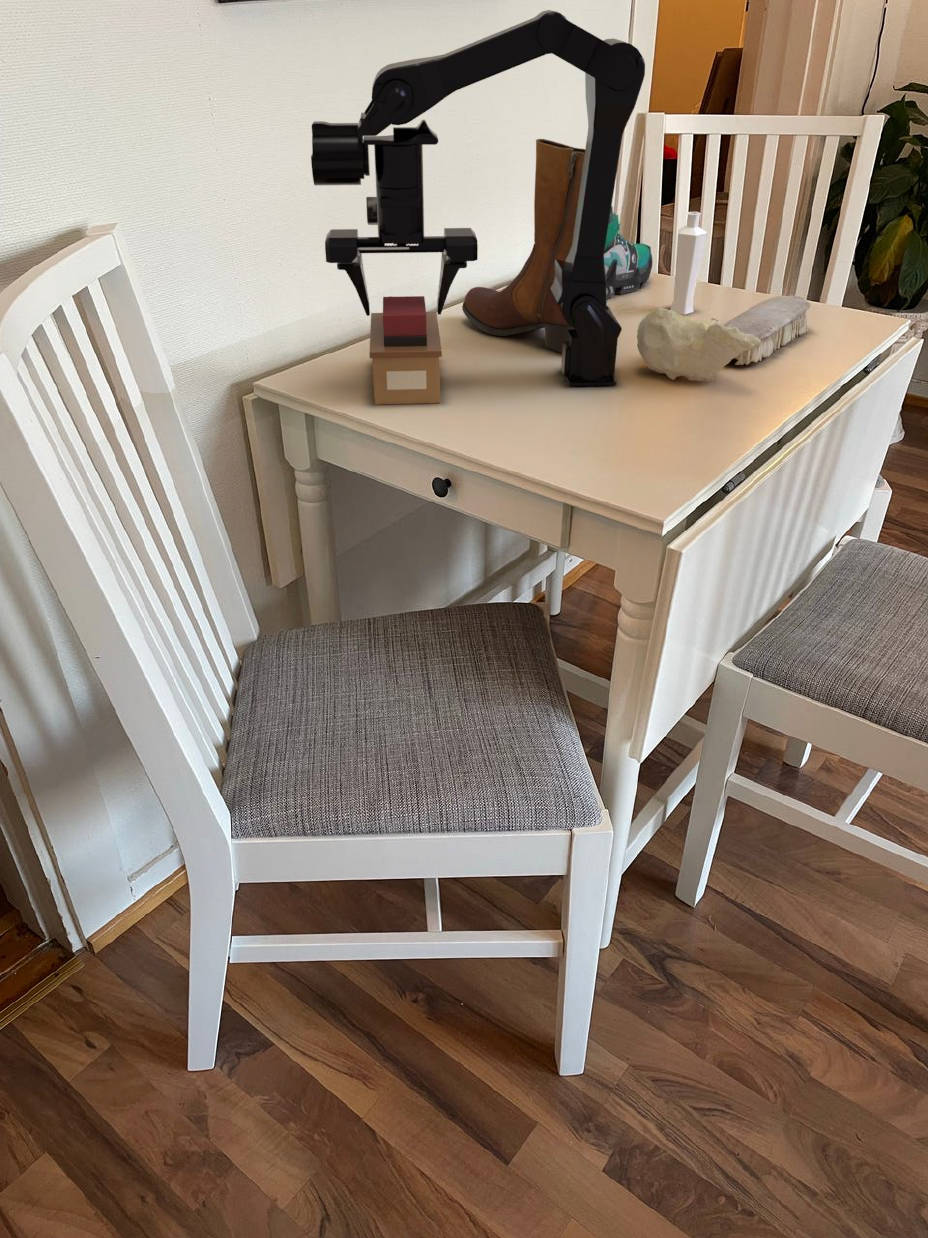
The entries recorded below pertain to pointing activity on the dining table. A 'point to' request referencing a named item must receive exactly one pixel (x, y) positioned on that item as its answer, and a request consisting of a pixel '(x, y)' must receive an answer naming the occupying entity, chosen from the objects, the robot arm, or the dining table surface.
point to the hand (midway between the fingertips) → (403, 314)
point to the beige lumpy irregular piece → (689, 345)
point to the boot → (537, 254)
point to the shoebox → (405, 366)
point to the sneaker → (624, 261)
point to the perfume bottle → (688, 263)
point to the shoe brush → (771, 325)
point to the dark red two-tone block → (404, 321)
